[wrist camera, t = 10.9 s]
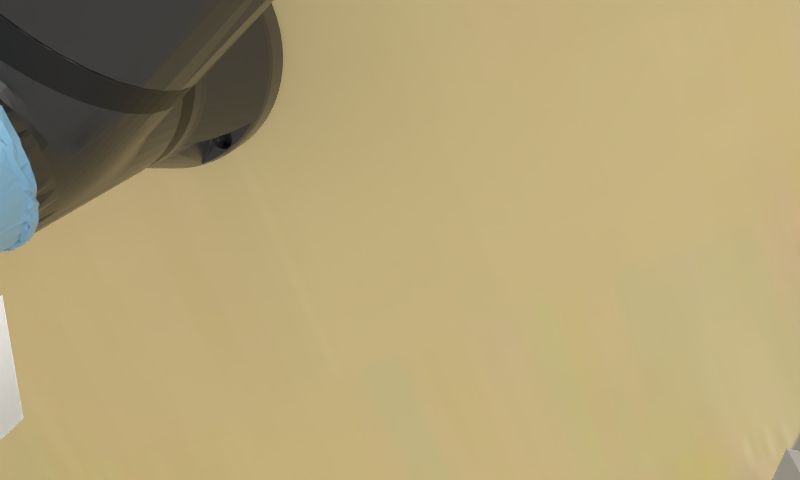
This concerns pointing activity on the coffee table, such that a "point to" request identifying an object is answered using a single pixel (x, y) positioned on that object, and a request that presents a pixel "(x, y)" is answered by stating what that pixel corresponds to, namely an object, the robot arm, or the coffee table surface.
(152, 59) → the robot arm
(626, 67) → the coffee table surface
